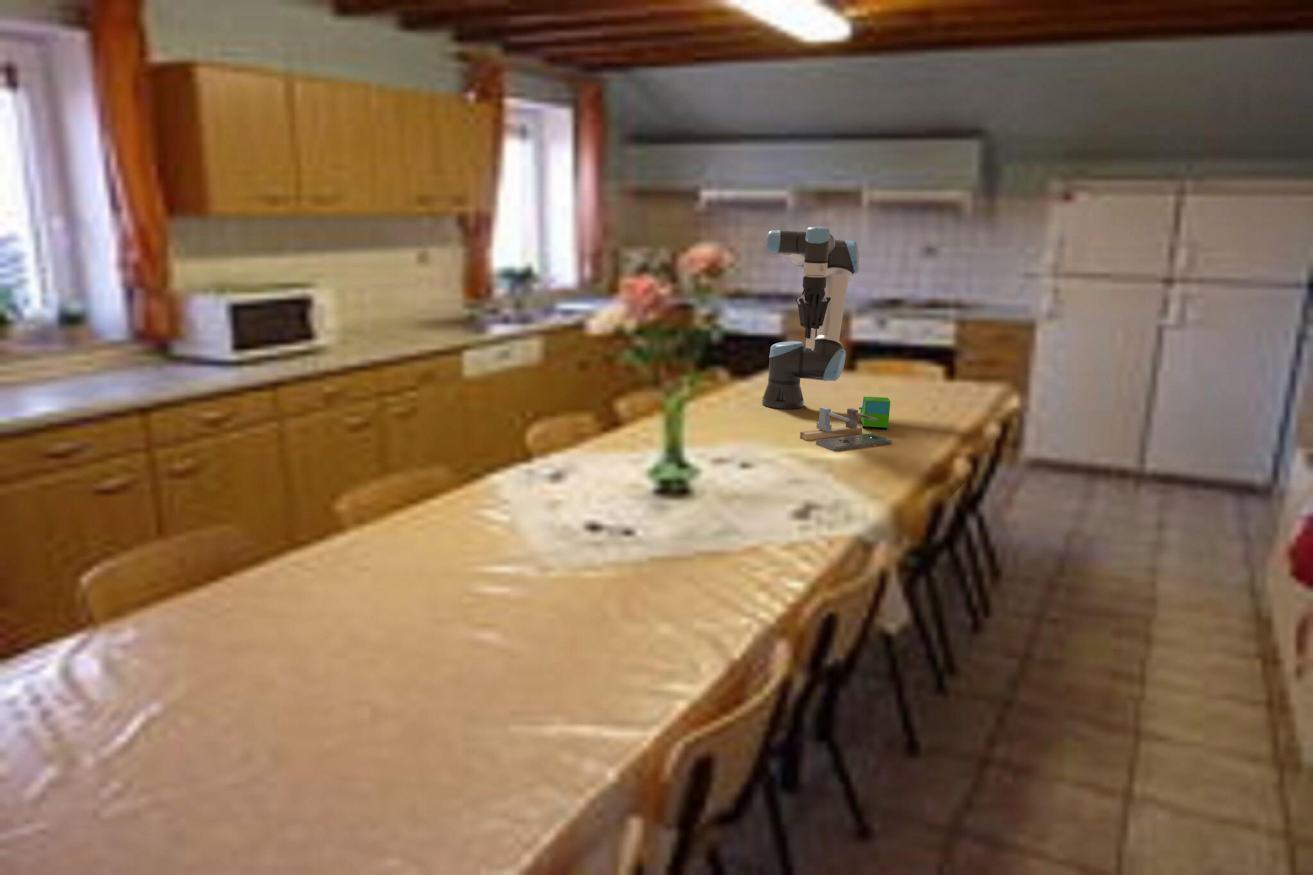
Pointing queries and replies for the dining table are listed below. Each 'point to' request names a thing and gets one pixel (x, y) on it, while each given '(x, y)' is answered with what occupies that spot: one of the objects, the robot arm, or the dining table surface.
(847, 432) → the rail
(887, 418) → the green box
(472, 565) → the dining table surface
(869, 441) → the hole plate
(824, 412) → the grey hammer
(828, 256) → the robot arm
